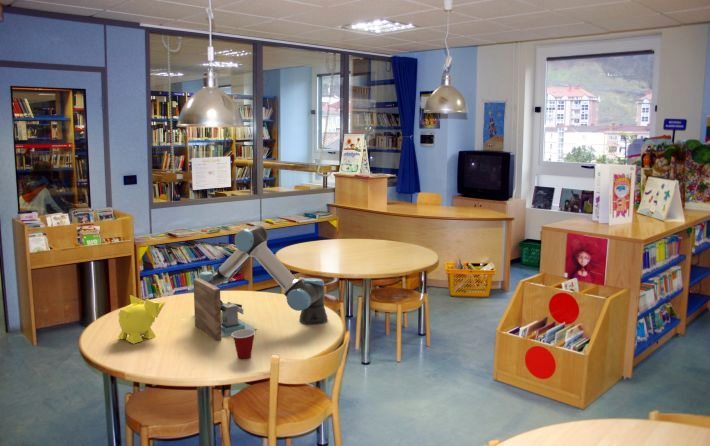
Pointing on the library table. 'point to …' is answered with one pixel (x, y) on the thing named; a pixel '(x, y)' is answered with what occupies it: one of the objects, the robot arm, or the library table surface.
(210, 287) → the door panel
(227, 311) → the bar
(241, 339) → the plastic cup
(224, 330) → the socket
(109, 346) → the library table surface
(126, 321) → the piggy bank
